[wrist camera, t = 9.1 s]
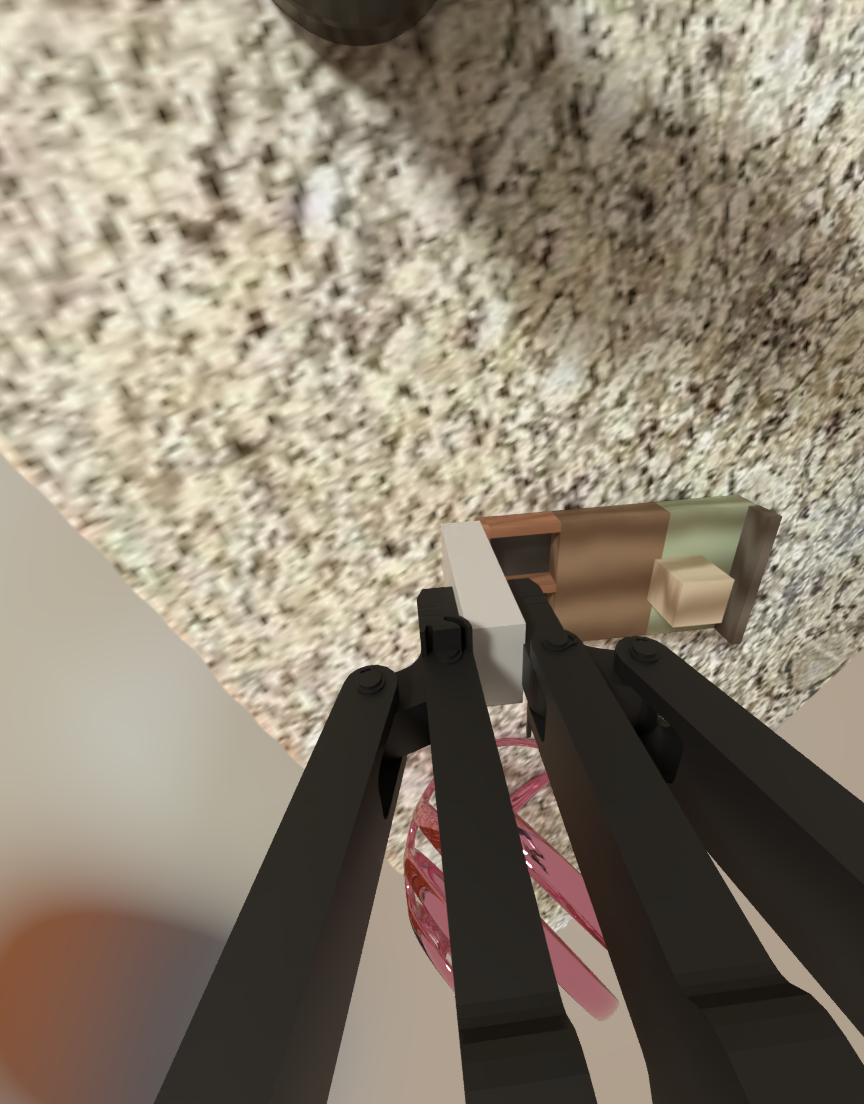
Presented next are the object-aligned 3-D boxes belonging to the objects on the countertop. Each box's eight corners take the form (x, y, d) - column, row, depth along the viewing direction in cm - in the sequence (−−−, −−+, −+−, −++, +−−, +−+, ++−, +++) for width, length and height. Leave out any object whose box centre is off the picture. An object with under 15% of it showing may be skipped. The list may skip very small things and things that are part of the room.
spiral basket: (714, 814, 39) (531, 1172, 29) (693, 879, 57) (576, 1113, 47) (477, 659, 58) (318, 846, 48) (518, 746, 76) (409, 894, 66)
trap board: (474, 517, 46) (485, 543, 40) (737, 494, 47) (782, 516, 42) (476, 635, 52) (486, 670, 47) (705, 611, 54) (740, 643, 48)
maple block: (655, 559, 46) (683, 584, 42) (701, 555, 46) (734, 579, 42) (646, 599, 48) (672, 627, 44) (691, 595, 49) (721, 622, 44)
